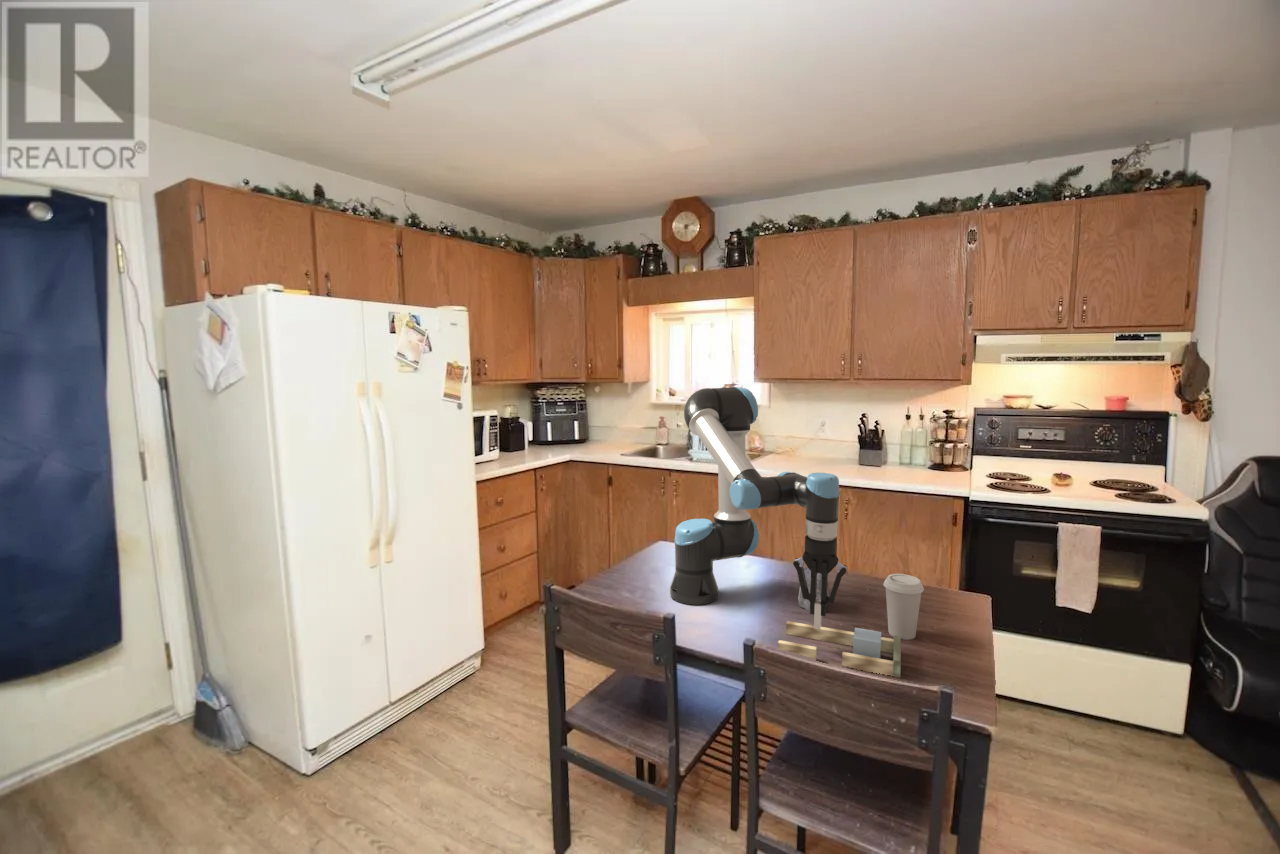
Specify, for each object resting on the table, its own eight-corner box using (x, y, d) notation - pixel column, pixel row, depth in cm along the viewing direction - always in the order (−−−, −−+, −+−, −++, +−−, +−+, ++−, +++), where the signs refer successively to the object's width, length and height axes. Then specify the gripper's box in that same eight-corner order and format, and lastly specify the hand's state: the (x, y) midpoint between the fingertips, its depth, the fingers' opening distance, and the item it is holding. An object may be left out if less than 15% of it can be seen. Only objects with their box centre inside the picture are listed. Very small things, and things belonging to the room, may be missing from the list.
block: (852, 662, 134) (853, 638, 134) (854, 650, 140) (855, 627, 139) (879, 667, 132) (880, 642, 131) (880, 655, 137) (881, 631, 136)
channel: (777, 654, 138) (777, 638, 138) (787, 631, 150) (787, 617, 149) (900, 678, 127) (900, 661, 126) (899, 651, 138) (900, 636, 138)
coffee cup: (875, 626, 152) (876, 573, 150) (908, 624, 153) (910, 571, 151) (894, 643, 143) (896, 586, 141) (929, 641, 143) (932, 585, 142)
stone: (804, 601, 173) (836, 597, 168) (799, 620, 165) (832, 616, 160) (791, 567, 172) (823, 562, 167) (785, 584, 163) (819, 579, 158)
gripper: (791, 537, 137) (788, 628, 140) (847, 544, 131) (843, 638, 134) (796, 528, 143) (793, 615, 146) (850, 535, 138) (846, 625, 141)
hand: (817, 626), depth 140 cm, fingers closed
